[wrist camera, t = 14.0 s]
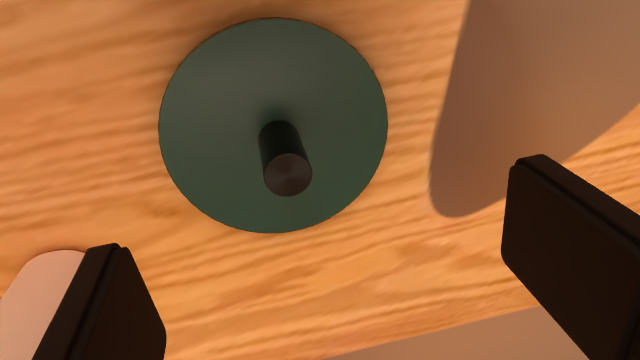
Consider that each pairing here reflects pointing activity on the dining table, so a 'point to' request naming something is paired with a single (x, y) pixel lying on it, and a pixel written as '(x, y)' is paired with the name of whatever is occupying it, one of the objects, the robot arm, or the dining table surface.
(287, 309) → the dining table surface
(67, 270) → the can
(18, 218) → the dining table surface
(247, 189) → the lid
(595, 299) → the robot arm
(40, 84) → the dining table surface
